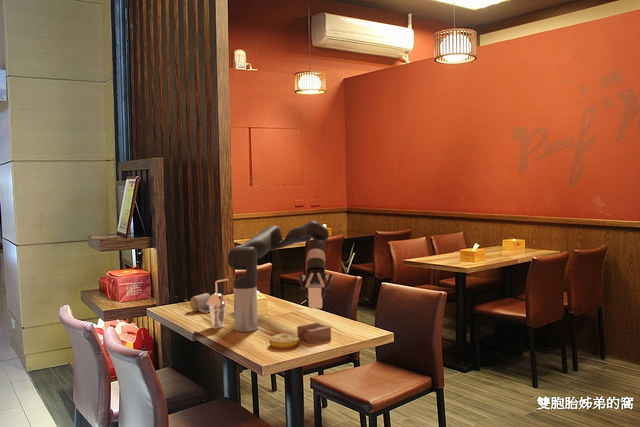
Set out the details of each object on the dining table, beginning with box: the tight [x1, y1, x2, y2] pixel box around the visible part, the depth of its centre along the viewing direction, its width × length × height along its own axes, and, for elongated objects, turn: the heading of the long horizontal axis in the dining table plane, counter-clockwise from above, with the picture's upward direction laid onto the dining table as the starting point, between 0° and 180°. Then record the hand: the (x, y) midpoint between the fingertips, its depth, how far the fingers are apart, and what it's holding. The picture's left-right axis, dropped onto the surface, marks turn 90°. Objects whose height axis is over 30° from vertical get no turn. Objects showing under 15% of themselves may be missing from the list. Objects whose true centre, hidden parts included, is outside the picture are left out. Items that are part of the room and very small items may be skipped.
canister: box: [308, 283, 323, 309], centre depth 227 cm, size 5×5×9 cm
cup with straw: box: [207, 278, 230, 329], centre depth 236 cm, size 8×9×20 cm
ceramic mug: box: [190, 292, 211, 314], centre depth 265 cm, size 11×8×8 cm
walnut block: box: [296, 322, 332, 344], centre depth 215 cm, size 9×9×4 cm
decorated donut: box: [268, 332, 300, 350], centre depth 208 cm, size 10×11×4 cm
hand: (314, 297), depth 225 cm, fingers closed on canister, 5 cm apart
